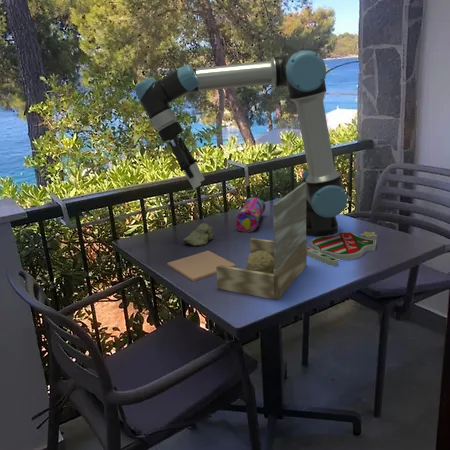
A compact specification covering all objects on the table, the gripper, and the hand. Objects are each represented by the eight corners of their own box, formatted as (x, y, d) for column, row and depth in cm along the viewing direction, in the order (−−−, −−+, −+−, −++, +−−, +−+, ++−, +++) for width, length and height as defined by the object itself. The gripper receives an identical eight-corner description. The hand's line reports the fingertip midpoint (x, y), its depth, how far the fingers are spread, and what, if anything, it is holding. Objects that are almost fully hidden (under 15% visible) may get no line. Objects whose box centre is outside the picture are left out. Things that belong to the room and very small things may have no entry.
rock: (183, 250, 170) (209, 246, 168) (179, 233, 168) (205, 229, 166) (191, 239, 180) (216, 236, 178) (187, 224, 178) (212, 220, 176)
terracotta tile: (208, 252, 163) (208, 250, 163) (235, 267, 150) (235, 264, 150) (167, 265, 154) (167, 262, 154) (193, 281, 142) (192, 279, 142)
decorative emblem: (293, 244, 161) (354, 225, 176) (293, 251, 162) (354, 231, 177) (333, 261, 146) (396, 239, 161) (333, 268, 147) (396, 245, 162)
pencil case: (259, 234, 179) (259, 211, 176) (235, 233, 180) (234, 211, 177) (266, 216, 199) (265, 195, 196) (244, 215, 201) (243, 195, 198)
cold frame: (217, 288, 137) (212, 198, 128) (252, 257, 157) (249, 178, 148) (278, 300, 128) (276, 205, 120) (306, 266, 149) (307, 182, 140)
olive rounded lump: (276, 291, 141) (288, 260, 142) (252, 282, 135) (265, 250, 136) (257, 283, 148) (269, 254, 149) (234, 274, 143) (246, 244, 143)
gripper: (163, 130, 164) (193, 184, 168) (149, 132, 140) (184, 195, 144) (182, 120, 163) (212, 174, 167) (171, 120, 139) (206, 183, 143)
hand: (199, 184), depth 155 cm, fingers open, 13 cm apart
